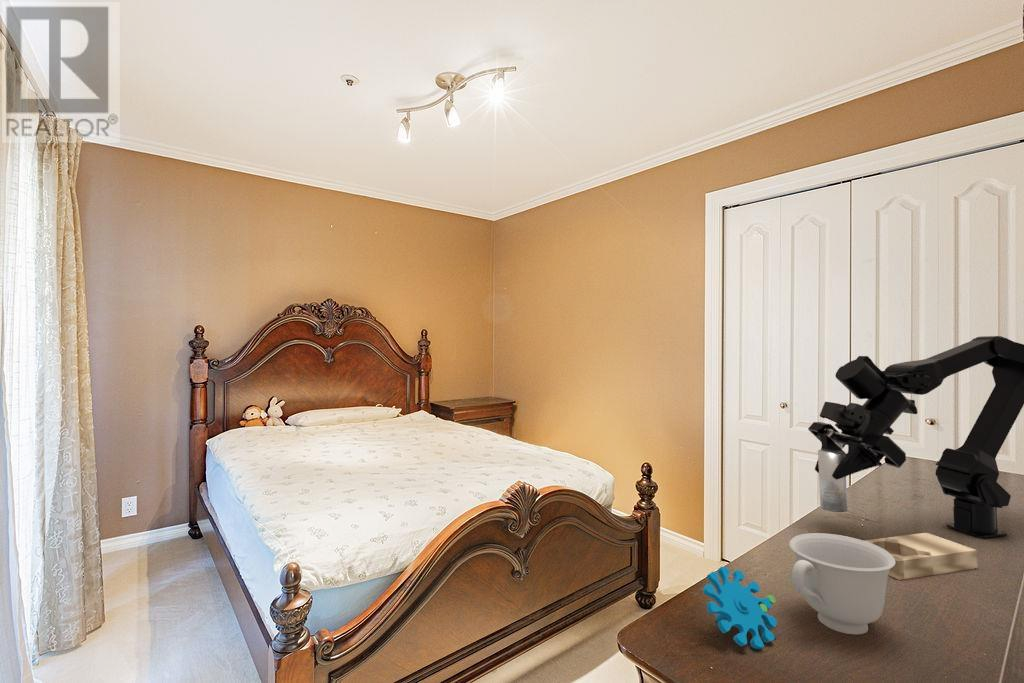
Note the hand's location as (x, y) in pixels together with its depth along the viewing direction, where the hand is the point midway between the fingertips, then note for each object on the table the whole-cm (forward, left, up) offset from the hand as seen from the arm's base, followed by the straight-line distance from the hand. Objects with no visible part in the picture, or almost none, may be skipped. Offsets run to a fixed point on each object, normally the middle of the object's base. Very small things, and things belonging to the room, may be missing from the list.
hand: (825, 474), depth 94 cm
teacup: (+23, +24, -13) cm, 36 cm away
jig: (-5, +12, -13) cm, 18 cm away
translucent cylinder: (-1, 0, -7) cm, 7 cm away
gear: (+36, +23, -13) cm, 44 cm away
